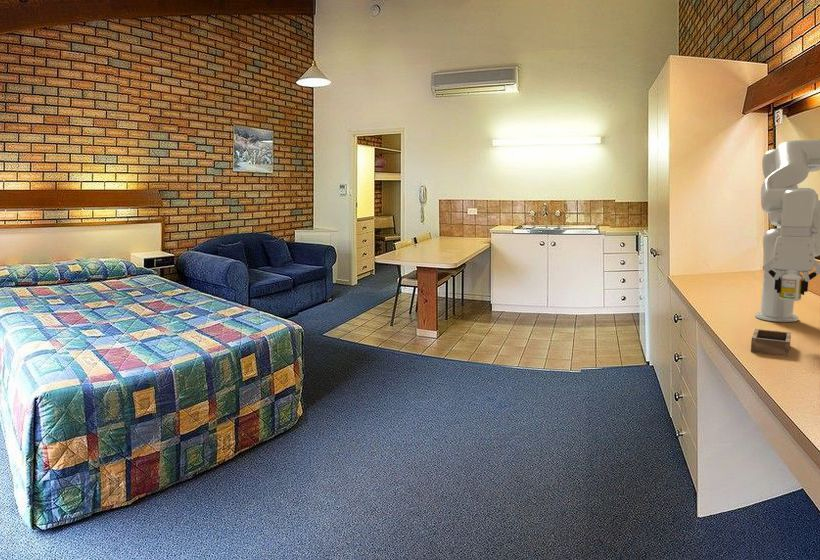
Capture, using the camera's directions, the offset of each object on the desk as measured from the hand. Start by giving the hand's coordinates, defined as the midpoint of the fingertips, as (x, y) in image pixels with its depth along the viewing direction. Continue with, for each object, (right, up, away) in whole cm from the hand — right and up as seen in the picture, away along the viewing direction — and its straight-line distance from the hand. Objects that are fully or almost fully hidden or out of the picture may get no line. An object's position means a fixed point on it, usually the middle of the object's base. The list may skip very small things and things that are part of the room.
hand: (790, 292), depth 165 cm
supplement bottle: (0, -2, 0) cm, 2 cm away
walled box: (-9, -16, -5) cm, 19 cm away
